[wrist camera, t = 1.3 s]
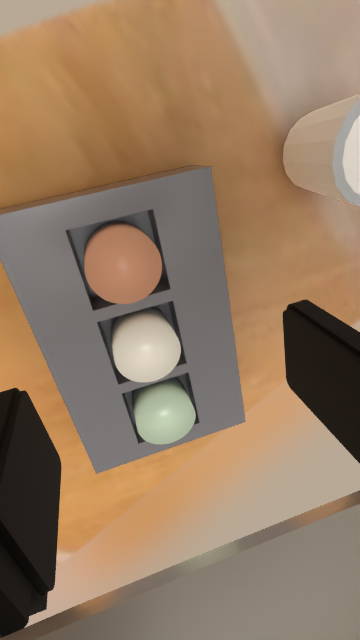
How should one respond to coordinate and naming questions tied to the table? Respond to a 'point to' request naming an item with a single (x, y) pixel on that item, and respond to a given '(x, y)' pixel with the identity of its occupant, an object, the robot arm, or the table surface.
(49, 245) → the console
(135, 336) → the cream button
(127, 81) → the table surface
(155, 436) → the sage button
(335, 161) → the light grey cup
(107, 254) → the terracotta button
